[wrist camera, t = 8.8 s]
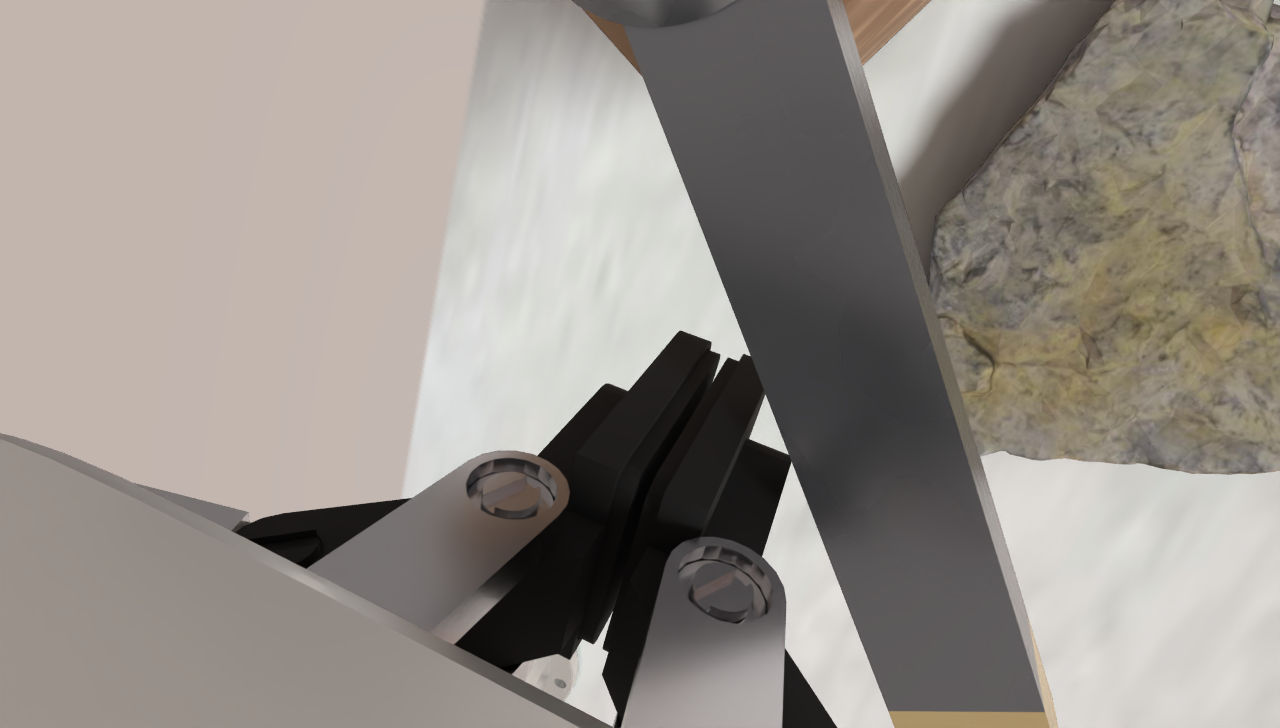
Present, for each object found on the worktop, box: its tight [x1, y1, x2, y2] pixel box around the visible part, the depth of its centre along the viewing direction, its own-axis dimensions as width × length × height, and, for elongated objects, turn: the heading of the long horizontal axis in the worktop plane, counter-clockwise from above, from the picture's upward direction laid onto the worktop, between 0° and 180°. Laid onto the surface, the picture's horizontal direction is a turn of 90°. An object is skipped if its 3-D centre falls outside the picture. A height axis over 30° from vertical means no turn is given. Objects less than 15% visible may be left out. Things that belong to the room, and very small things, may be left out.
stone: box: [928, 0, 1280, 475], centre depth 23 cm, size 18×15×4 cm
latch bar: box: [572, 0, 1058, 728], centre depth 8 cm, size 13×3×2 cm, turn 24°
